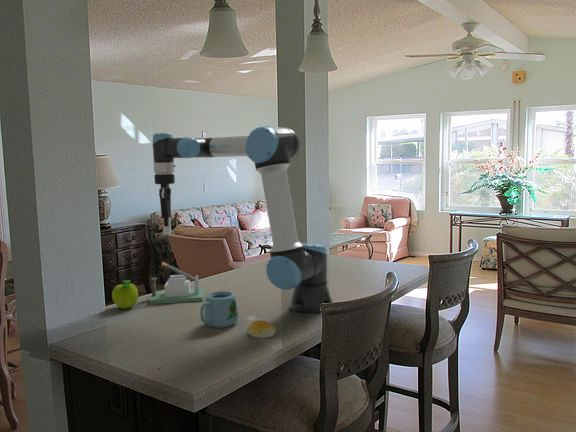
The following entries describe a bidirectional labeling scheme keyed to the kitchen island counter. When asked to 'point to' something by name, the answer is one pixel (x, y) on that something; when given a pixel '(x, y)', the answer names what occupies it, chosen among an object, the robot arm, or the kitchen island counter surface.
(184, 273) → the wooden stick
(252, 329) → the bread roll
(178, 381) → the kitchen island counter surface
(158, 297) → the heatsink board
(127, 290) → the fruit
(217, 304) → the mug
